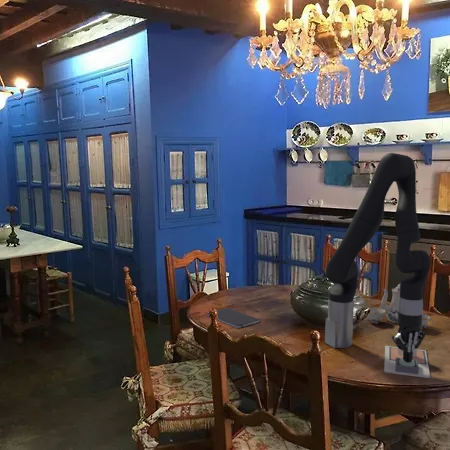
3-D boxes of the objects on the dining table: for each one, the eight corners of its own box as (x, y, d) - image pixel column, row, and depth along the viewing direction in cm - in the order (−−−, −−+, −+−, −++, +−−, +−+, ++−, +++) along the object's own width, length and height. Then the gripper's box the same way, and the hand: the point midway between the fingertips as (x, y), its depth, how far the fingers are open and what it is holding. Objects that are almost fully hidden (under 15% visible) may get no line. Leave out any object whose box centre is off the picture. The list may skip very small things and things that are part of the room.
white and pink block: (406, 358, 176) (408, 332, 175) (397, 354, 180) (399, 328, 179) (416, 356, 178) (418, 330, 177) (407, 352, 182) (408, 326, 181)
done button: (415, 371, 166) (415, 365, 165) (398, 369, 167) (399, 363, 167) (414, 365, 170) (414, 359, 170) (398, 363, 172) (398, 357, 172)
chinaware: (361, 328, 213) (362, 291, 209) (364, 312, 228) (365, 277, 224) (433, 336, 204) (436, 298, 200) (431, 319, 219) (434, 283, 215)
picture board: (430, 378, 163) (430, 370, 163) (384, 372, 167) (384, 364, 167) (425, 351, 184) (426, 345, 184) (385, 347, 188) (385, 340, 188)
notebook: (260, 323, 216) (228, 310, 232) (260, 319, 216) (228, 307, 232) (237, 329, 208) (205, 316, 224) (237, 326, 208) (205, 313, 224)
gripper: (403, 317, 160) (400, 369, 162) (434, 311, 165) (431, 362, 168) (386, 310, 166) (384, 360, 169) (416, 305, 172) (414, 354, 175)
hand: (407, 361), depth 168 cm, fingers closed
